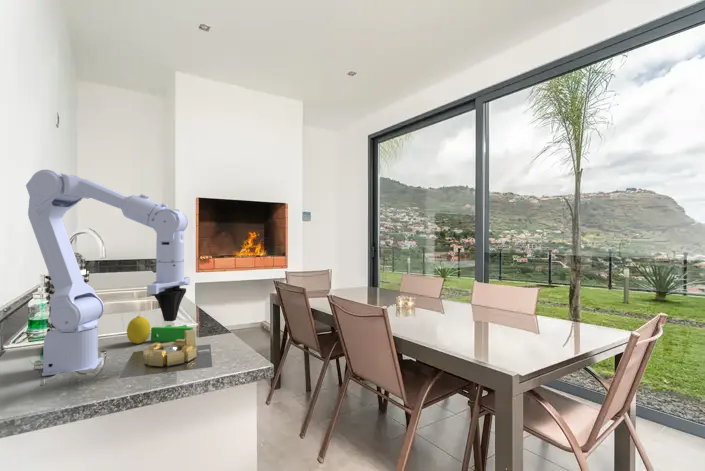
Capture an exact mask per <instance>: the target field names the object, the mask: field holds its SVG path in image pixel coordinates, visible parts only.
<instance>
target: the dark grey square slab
mask: <svg viewBox="0 0 705 471" xmlns="http://www.w3.org/2000/svg"><path fill="white" fill-rule="evenodd" d="M196 346H197V355H196V357H195V358H193V359H191V360H190V361H184V363H180V364H175V365H170V366H167V365H164V366H151V365H148V364H145V362H144V360H143V351H144V350H138V351H133V353H132V355H131V356H130V358H129V360H128V361H127V362H126V365H125V367H124V368H123V370H122V372H121V374H120V375H119V377H118V379H122V378H124V379H125V378H131V377H132V378H133V377H139V376H140V377H141V376H149V375H157V374H166V373H175V372H183V371H189V370H191V371H192V370H199V369H200V370H201V369H206V368H207V369H208V368H212V367H213V362H212V361H213V359H212V348H211V344H210V343H209V344H200V345H199V344H198V345H196ZM164 350H166V353H169V352H175V351H178V346H176V345H170V346H166V347H164Z"/></svg>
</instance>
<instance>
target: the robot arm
mask: <svg viewBox="0 0 705 471" xmlns="http://www.w3.org/2000/svg"><path fill="white" fill-rule="evenodd" d="M25 187H26V190H27V193H28V195H29V198H28V199H29V200H28V209H27V216H28V219H29V222H30V224H31V228H32V230H33V233H34V235H35V238H36V241H37V244H38V247H39V249H40V253H41V255H42V258H43V260H44V264H45V267H46V269H47V272H49V275H50V277H51V280H52V283H53V286H54V288H55V292H54V294H53V295H52V297H51V299H50V300H49V304H50V307H51V313H50V320H51V323H52V325H53V326H54V327H55V328H57V330H51V331H48V332H47V331H46V334H45V336H44V340H43V347H42V348H43V355H42V356H43V368H42V373H41V376H42V377H45V376H55V375H57V374H59V373H66V372H67V373H69V372H77V371H87V370H94V369H96V368H97V367H98V365H100V363H101V362H102V360H104V357H99V331H98V330H99V320H100V319H101V317H102V316H103V314H104V312H105V304H104V302H103V300H102V299H101V298H100V297H99V296H98V295H97V293H96V291H95V288H93V287H92V286H91V285H89V284H88V283H85V282H84V279H83V277H82V274H81V271H80V268H79V266H78V263H77V260H76V257H75V254H74V253H75V251H74V250H73V247H72V244H71V240H70V239H69V236H68V232H67V230H66V227H65V224H64V221H63V217H64V216H65V215H66V213H67V212H68V211H69V210H71V209H72V208H73V207H75V205H77V204H78V203H80V202H81V201H83V199H87V200H88V199H93V200H94V201H95V200H96V201H99V202H102V203H104V204H106V205H109V206H111V207H113V208H114V207H115V208H117V209H120V210H121V212H122V215H123V216H124V217H125V218H127V219H129V220H132V221H134V222H137V223H139V224H142V225H144V226H147V227H149V228H150V229H153V230H154V231H155V233H156V248H155V249H156V250H155V251H156V254H155V255H156V265H155V266H156V267H155V268H156V270H155V271H156V273H155V276H156V278H155V281H154V282H151V283H150V284H146V286H147V287H146V293H147V295H153V296H154V297H155V299H156V300H157V303H158V305H159V307H160V310H161V313H162V317H163V321H164V322H174V321H176V320H177V318H178V312H179V310H180V307H181V303H182V300H183V299H184V296H185V294H187V293H186V292H187V288H185V287H184V286H189V285H191V284H190V283H191V281H190V280H191V279H190V276H185V230H186V229H187V227H188V223H189V222H188V217H187V216H186V215H185V213H184V212H181V211H180V210H179V209H170V208H169V205H168V204H166V203H158V202H156V201H153V200H152V199H149V195H146V194H143V193H141V194H137V193H136V194H132V195H130V196H129V195H128V196H127V195H125V194H123V193H120V192H118V191H117V190H114V189H111V188H110V187H107V186H105V185H103V184H101V183H99V182H97V181H94V180H90V179H87V178H83V177H79V176H78V175H69V174H66V173H61V172H56V171H54V170H51V169H41V170H40V169H39V170H38V171H36V172H35V173H33V175H32V176H31V178H30V179H29V180H28V182H27V183H26V185H25Z"/></svg>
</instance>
